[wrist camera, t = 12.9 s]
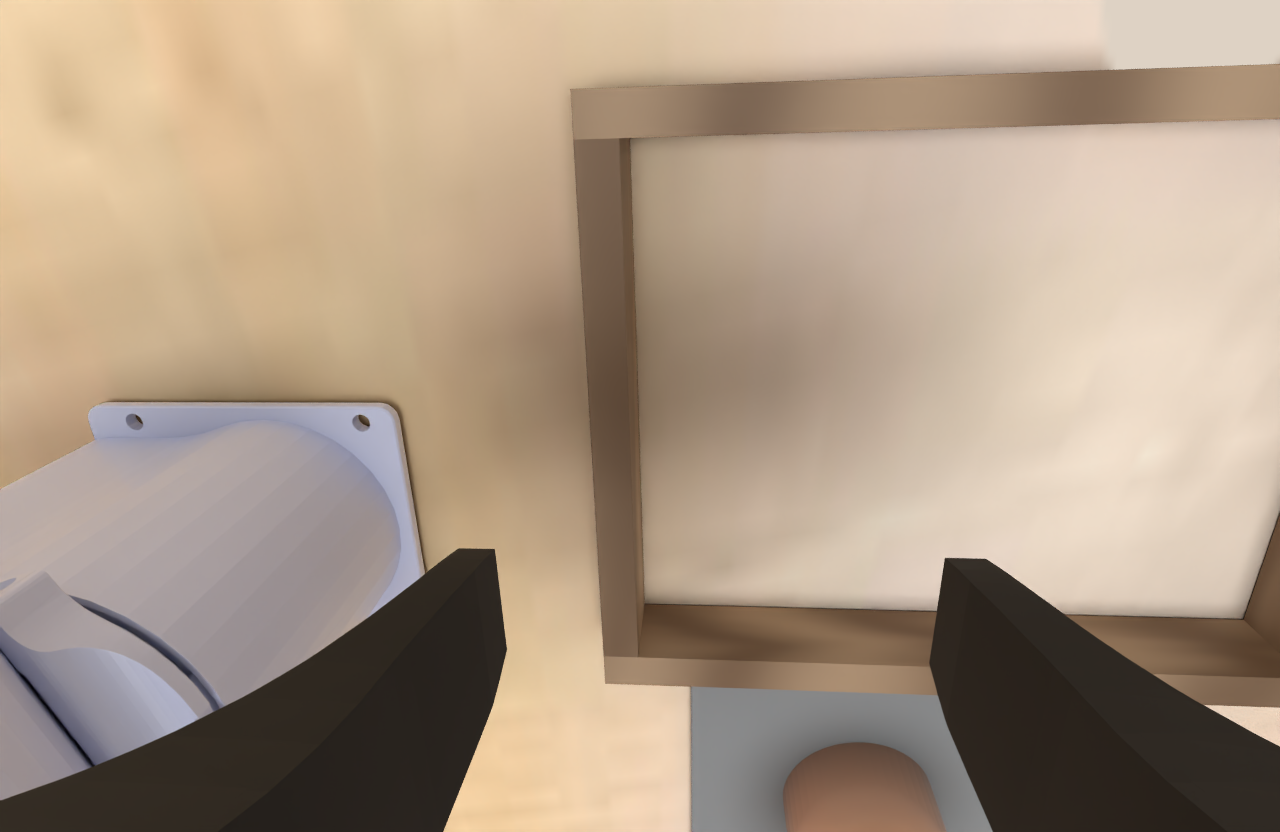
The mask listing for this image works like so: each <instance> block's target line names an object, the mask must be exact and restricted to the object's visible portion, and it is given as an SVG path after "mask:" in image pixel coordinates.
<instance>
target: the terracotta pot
mask: <svg viewBox="0 0 1280 832" xmlns="http://www.w3.org/2000/svg"><path fill="white" fill-rule="evenodd" d="M783 805H784V813H785V821H786V830H787V832H947V831H946V828H945V825H944V823H943V820H942V817H941V814H940V811H939V808H938V805H937V802H936V799H935V796H934V794H933V791H932V788H931V785H930V782H929V780H928V777H927V775H926V774H925V772H924V771H923V769H922V768H921V767H920V766H919V765H918V764H917V763H916V762H915V761H914V760H913V759H911V758H910V757H909V756H907V755H905V754H904V753H902V752H900V751H898V750H895V749H893V748H890V747H887V746H883V745H879V744H873V743H863V742H853V743H843V744H837V745H833V746H830V747H826V748H824V749H821V750H819V751H816V752H815V753H813V754H811V755H809V756H808V757H806V758H805V759H803V760H802V761H801V762H800V763H799V764H797V765H796V766H795V768H794V769H793V770H792V771H791V773H790V774H789V776H788V778H787V780H786V782H785V785H784V789H783Z"/></svg>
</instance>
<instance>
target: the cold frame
mask: <svg viewBox="0 0 1280 832" xmlns="http://www.w3.org/2000/svg"><path fill="white" fill-rule="evenodd" d="M570 90H571V107H572V124H573V141H574V158H575V175H576V192H577V209H578V226H579V243H580V260H581V277H582V294H583V311H584V328H585V345H586V362H587V379H588V396H589V413H590V430H591V447H592V464H593V481H594V498H595V515H596V532H597V549H598V566H599V583H600V600H601V617H602V634H603V651H604V668H605V684H632V685H660V686H689V687H717V688H745V689H773V690H801V691H829V692H858V693H886V694H914V695H938V694H937V690H936V687H935V683H934V679H933V676H932V672H931V668H930V665H929V660H930V654H931V647H932V641H933V634H934V627H935V621H936V614H937V612H926V611H888V610H849V609H811V608H772V607H734V606H695V605H656V604H645V601H644V570H643V538H642V506H641V474H640V443H639V411H638V379H637V347H636V316H635V284H634V252H633V220H632V188H631V157H630V138H645V137H679V136H713V135H747V134H781V133H815V132H849V131H883V130H917V129H951V128H985V127H1019V126H1053V125H1087V124H1121V123H1155V122H1189V121H1224V120H1258V119H1280V64H1268V65H1240V66H1211V67H1183V68H1155V69H1128V70H1098V71H1070V72H1042V73H1014V74H985V75H957V76H929V77H901V78H872V79H844V80H816V81H788V82H759V83H731V84H703V85H675V86H646V87H618V88H590V89H570ZM1066 616H1067V617H1068V618H1070V619H1071V620H1073V621H1074V622H1075V623H1077V624H1078V625H1080V626H1081V627H1083V628H1084V629H1085V630H1087V631H1088V632H1090V633H1091V634H1093V635H1094V636H1095V637H1097V638H1098V639H1100V640H1101V641H1103V642H1104V643H1106V644H1107V645H1109V646H1110V647H1112V648H1113V649H1114V650H1116V651H1117V652H1119V653H1120V654H1122V655H1123V656H1125V657H1126V658H1128V659H1129V660H1131V661H1133V662H1134V663H1136V664H1137V665H1139V666H1140V667H1142V668H1144V669H1145V670H1147V671H1148V672H1150V673H1151V674H1153V675H1155V676H1156V677H1158V678H1159V679H1161V680H1162V681H1164V682H1166V683H1167V684H1169V685H1170V686H1172V687H1174V688H1175V689H1177V690H1178V691H1180V692H1182V693H1184V694H1185V695H1187V696H1189V697H1190V698H1192V699H1194V700H1195V701H1197V702H1199V703H1200V704H1202V705H1224V706H1252V707H1280V515H1279V518H1278V521H1277V524H1276V527H1275V530H1274V533H1273V536H1272V539H1271V542H1270V544H1269V547H1268V550H1267V553H1266V556H1265V559H1264V562H1263V565H1262V568H1261V570H1260V573H1259V576H1258V579H1257V582H1256V585H1255V588H1254V591H1253V594H1252V597H1251V599H1250V602H1249V605H1248V608H1247V611H1246V614H1245V617H1244V620H1235V619H1196V618H1158V617H1119V616H1081V615H1066Z"/></svg>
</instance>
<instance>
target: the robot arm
mask: <svg viewBox="0 0 1280 832" xmlns="http://www.w3.org/2000/svg"><path fill="white" fill-rule="evenodd" d="M359 414H360V415H364V416H365V417H367V418H368V419H369V422H370V426H365V425H363V424H362V423H361V422H360V420H359V418H358V416H359ZM136 415H137V416H139V417H140V418H141V420H142V422H143V424H141V423H140V422H138V420H137V419H136ZM88 420H89V424H90V427H91V430H92V433H93V435H94V438H95V440H94V441H92V442H90V443H88V444H86V445H84V446H82V447H80V448H78V449H76V450H74V451H72V452H71V453H69V454H67V455H65V456H63V457H61V458H59V459H57V460H55V461H53V462H51V463H49V464H47V465H45V466H43V467H42V468H40V469H38V470H36V471H34V472H32V473H30V474H28V475H26V476H24V477H22V478H20V479H18V480H16V481H15V482H13V483H11V484H9V485H7V486H5V487H3V488H1V489H0V832H443V831H444V828H445V826H446V823H447V821H448V818H449V815H450V813H451V810H452V808H453V805H454V803H455V800H456V798H457V795H458V793H459V790H460V788H461V785H462V783H463V780H464V778H465V775H466V773H467V770H468V768H469V765H470V763H471V760H472V758H473V755H474V753H475V750H476V748H477V745H478V743H479V740H480V738H481V735H482V732H483V730H484V727H485V725H486V722H487V720H488V717H489V714H490V712H491V709H492V706H493V703H494V699H495V695H496V692H497V688H498V684H499V680H500V676H501V672H502V668H503V664H504V659H505V655H506V651H507V647H506V639H505V630H504V622H503V614H502V605H501V597H500V589H499V581H498V572H497V564H496V556H495V549H460V548H459V549H457V550H456V551H455V552H453V553H452V554H450V555H449V556H447V557H446V558H445V559H443V560H442V561H441V562H440V563H438V564H437V565H436V566H434V567H433V568H432V569H431V570H429V571H428V572H427V573H425V571H424V565H423V558H422V552H421V546H420V540H419V534H418V528H417V522H416V516H415V510H414V504H413V498H412V492H411V486H410V480H409V474H408V468H407V462H406V456H405V450H404V444H403V437H402V431H401V425H400V419H399V416H398V414H397V412H396V411H395V410H394V408H393V407H391V406H389V405H388V404H384V403H296V402H105V403H101V404H99V405H96V406H94V407H93V408H92V409H90V410H89V413H88ZM929 665H930V668H931V672H932V676H933V679H934V683H935V687H936V690H937V694H938V698H939V701H940V704H941V708H942V711H943V714H944V718H945V721H946V724H947V727H948V729H949V731H950V734H951V736H952V739H953V741H954V743H955V746H956V748H957V750H958V753H959V755H960V757H961V760H962V762H963V764H964V767H965V769H966V771H967V774H968V776H969V778H970V781H971V783H972V785H973V787H974V790H975V792H976V794H977V797H978V799H979V801H980V803H981V806H982V808H983V810H984V813H985V815H986V817H987V819H988V822H989V824H990V826H991V829H992V831H993V832H1280V747H1279V746H1277V745H1275V744H1274V743H1272V742H1270V741H1268V740H1266V739H1264V738H1262V737H1260V736H1258V735H1256V734H1254V733H1252V732H1251V731H1249V730H1247V729H1245V728H1244V727H1242V726H1240V725H1238V724H1236V723H1235V722H1233V721H1231V720H1229V719H1227V718H1226V717H1224V716H1222V715H1220V714H1218V713H1217V712H1215V711H1213V710H1211V709H1209V708H1208V707H1206V706H1204V705H1202V704H1200V703H1199V702H1197V701H1195V700H1194V699H1192V698H1190V697H1189V696H1187V695H1185V694H1184V693H1182V692H1180V691H1178V690H1177V689H1175V688H1174V687H1172V686H1170V685H1169V684H1167V683H1166V682H1164V681H1162V680H1161V679H1159V678H1158V677H1156V676H1155V675H1153V674H1151V673H1150V672H1148V671H1147V670H1145V669H1144V668H1142V667H1140V666H1139V665H1137V664H1136V663H1134V662H1133V661H1131V660H1129V659H1128V658H1126V657H1125V656H1123V655H1122V654H1120V653H1119V652H1117V651H1116V650H1114V649H1113V648H1112V647H1110V646H1109V645H1107V644H1106V643H1104V642H1103V641H1101V640H1100V639H1098V638H1097V637H1095V636H1094V635H1093V634H1091V633H1090V632H1088V631H1087V630H1085V629H1084V628H1083V627H1081V626H1080V625H1078V624H1077V623H1075V622H1074V621H1073V620H1071V619H1070V618H1068V617H1067V616H1066V615H1064V614H1063V613H1062V612H1060V611H1059V610H1057V609H1056V608H1055V607H1053V606H1052V605H1050V604H1049V603H1048V602H1046V601H1045V600H1044V599H1042V598H1041V597H1039V596H1038V595H1037V594H1035V593H1034V592H1033V591H1031V590H1030V589H1028V588H1027V587H1026V586H1024V585H1023V584H1022V583H1020V582H1019V581H1017V580H1016V579H1015V578H1013V577H1012V576H1010V575H1009V574H1008V573H1006V572H1005V571H1003V570H1002V569H1000V568H999V567H997V566H996V565H994V564H993V563H991V562H990V561H988V560H987V559H966V558H945V561H944V568H943V575H942V581H941V588H940V594H939V601H938V608H937V614H936V621H935V627H934V634H933V641H932V647H931V654H930V660H929Z"/></svg>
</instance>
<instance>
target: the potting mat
mask: <svg viewBox="0 0 1280 832" xmlns="http://www.w3.org/2000/svg"><path fill="white" fill-rule="evenodd" d="M691 732H692V832H787V830H786V821H785V813H784V805H783V789H784V785H785V782H786V780H787V778H788V776H789V774H790V773H791V771H792V770H793V769H794V768H795V766H796V765H797V764H799V763H800V762H801V761H802V760H803V759H805V758H806V757H808V756H809V755H811V754H813V753H815V752H816V751H819V750H821V749H824V748H826V747H830V746H833V745H837V744H843V743H853V742H863V743H873V744H879V745H883V746H887V747H890V748H893V749H895V750H898V751H900V752H902V753H904V754H905V755H907V756H909V757H910V758H911V759H913V760H914V761H915V762H916V763H917V764H918V765H919V766H920V767H921V768H922V769H923V771H924V772H925V774H926V775H927V777H928V780H929V782H930V785H931V788H932V791H933V794H934V796H935V799H936V802H937V805H938V808H939V811H940V814H941V817H942V820H943V823H944V825H945V828H946V831H947V832H993V831H992V829H991V826H990V824H989V822H988V819H987V817H986V815H985V813H984V810H983V808H982V806H981V803H980V801H979V799H978V797H977V794H976V792H975V790H974V787H973V785H972V783H971V781H970V778H969V776H968V774H967V771H966V769H965V767H964V764H963V762H962V760H961V757H960V755H959V753H958V750H957V748H956V746H955V743H954V741H953V739H952V736H951V734H950V731H949V729H948V727H947V724H946V721H945V718H944V714H943V711H942V708H941V704H940V701H939V698H938V695H914V694H886V693H858V692H829V691H801V690H773V689H745V688H717V687H691Z"/></svg>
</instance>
